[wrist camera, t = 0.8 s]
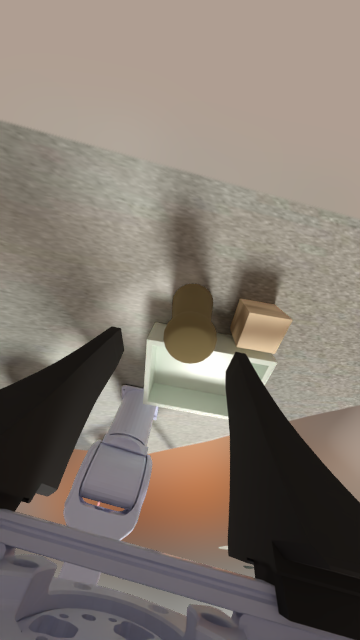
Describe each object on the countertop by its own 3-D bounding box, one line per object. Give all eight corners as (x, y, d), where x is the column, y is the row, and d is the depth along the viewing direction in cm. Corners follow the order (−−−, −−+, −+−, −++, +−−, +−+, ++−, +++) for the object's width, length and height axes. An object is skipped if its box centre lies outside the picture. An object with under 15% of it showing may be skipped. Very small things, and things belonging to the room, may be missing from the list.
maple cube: (261, 333, 25) (274, 353, 21) (229, 327, 26) (236, 347, 21) (274, 304, 23) (292, 320, 19) (239, 298, 23) (249, 312, 19)
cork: (206, 277, 22) (214, 309, 12) (217, 315, 25) (230, 367, 15) (166, 290, 24) (144, 328, 14) (180, 325, 26) (169, 378, 16)
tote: (237, 396, 32) (243, 422, 28) (150, 380, 32) (142, 403, 28) (263, 341, 26) (277, 362, 21) (155, 322, 26) (146, 339, 22)
